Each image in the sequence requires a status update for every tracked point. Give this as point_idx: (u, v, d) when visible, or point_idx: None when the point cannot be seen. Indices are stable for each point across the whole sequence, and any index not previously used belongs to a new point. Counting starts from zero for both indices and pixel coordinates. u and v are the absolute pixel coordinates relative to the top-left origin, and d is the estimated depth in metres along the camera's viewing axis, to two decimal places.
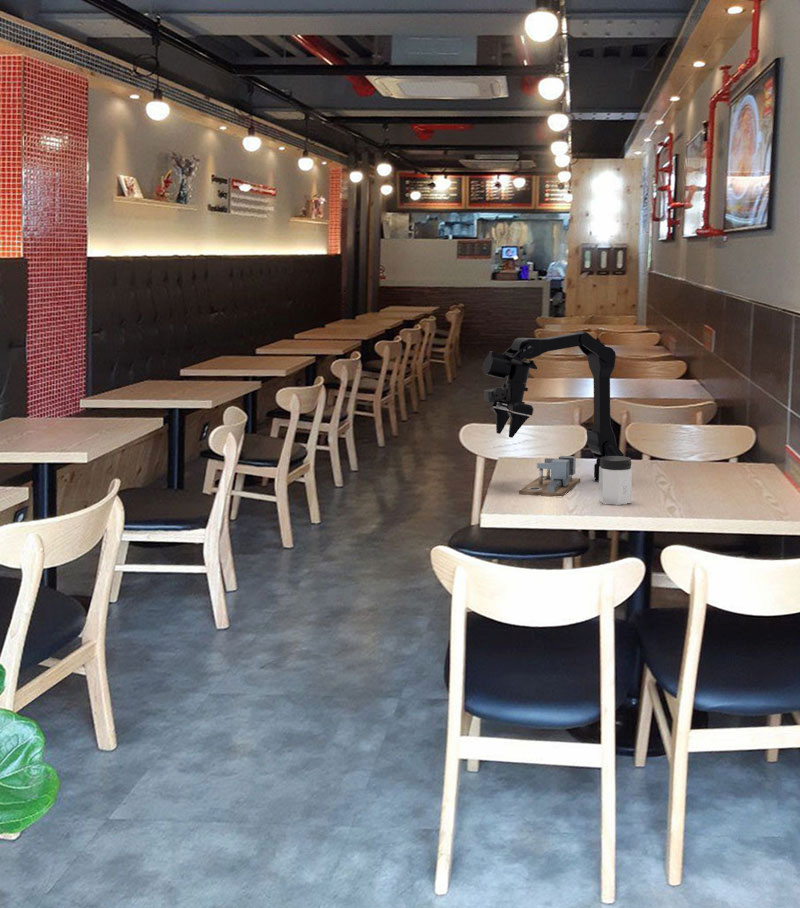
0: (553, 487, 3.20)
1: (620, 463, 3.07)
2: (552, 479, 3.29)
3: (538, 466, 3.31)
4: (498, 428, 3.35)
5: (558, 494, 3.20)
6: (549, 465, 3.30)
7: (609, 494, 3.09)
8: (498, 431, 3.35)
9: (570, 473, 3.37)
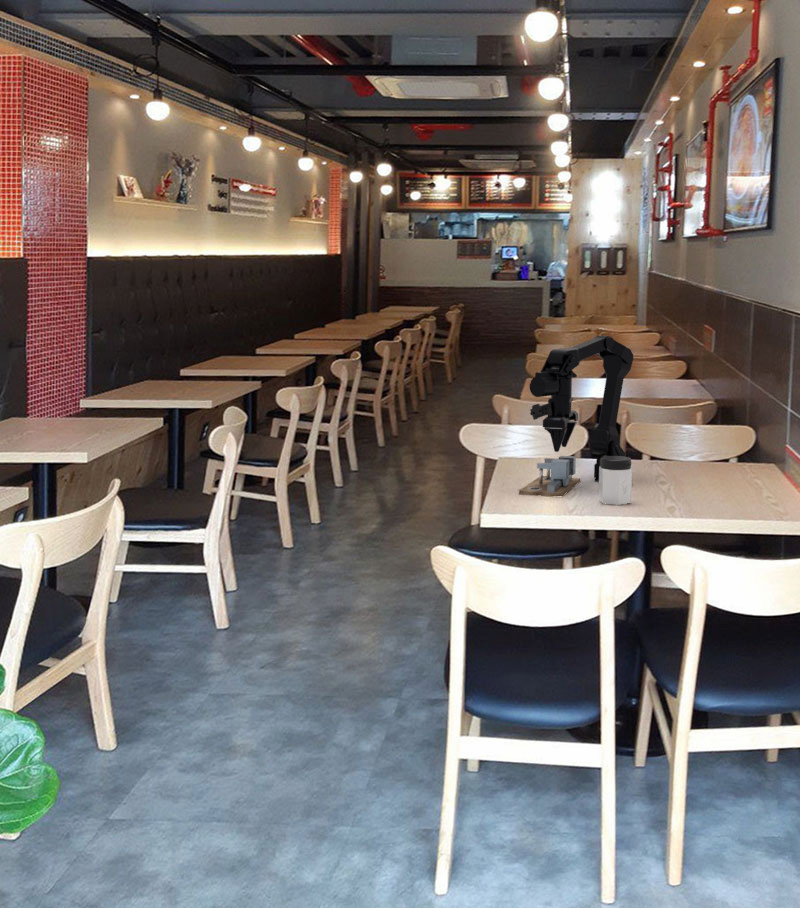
0: (553, 487, 3.20)
1: (620, 463, 3.07)
2: (552, 479, 3.29)
3: (538, 466, 3.31)
4: (562, 441, 3.33)
5: (558, 494, 3.20)
6: (549, 465, 3.30)
7: (609, 494, 3.09)
8: (563, 444, 3.33)
9: (570, 473, 3.37)
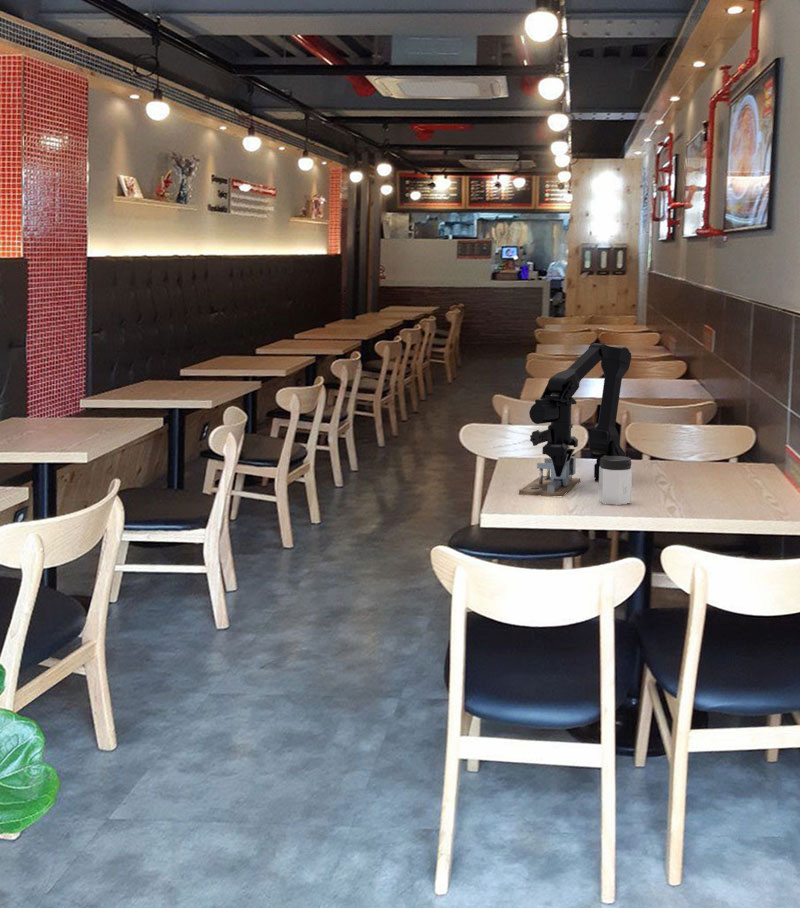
0: (553, 487, 3.20)
1: (620, 463, 3.07)
2: (552, 479, 3.29)
3: (538, 466, 3.31)
4: None
5: (558, 494, 3.20)
6: (549, 465, 3.30)
7: (609, 494, 3.09)
8: None
9: (570, 473, 3.37)
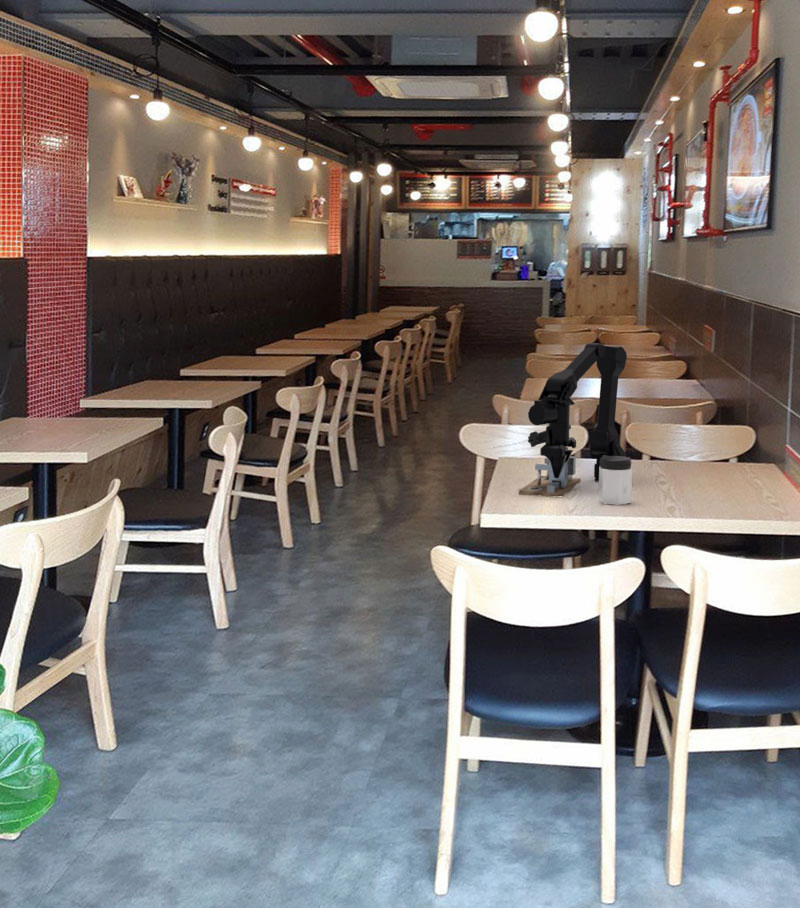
0: (553, 487, 3.20)
1: (620, 463, 3.07)
2: (550, 480, 3.27)
3: (536, 467, 3.29)
4: None
5: (558, 494, 3.20)
6: (547, 466, 3.28)
7: (609, 494, 3.09)
8: None
9: (570, 473, 3.37)
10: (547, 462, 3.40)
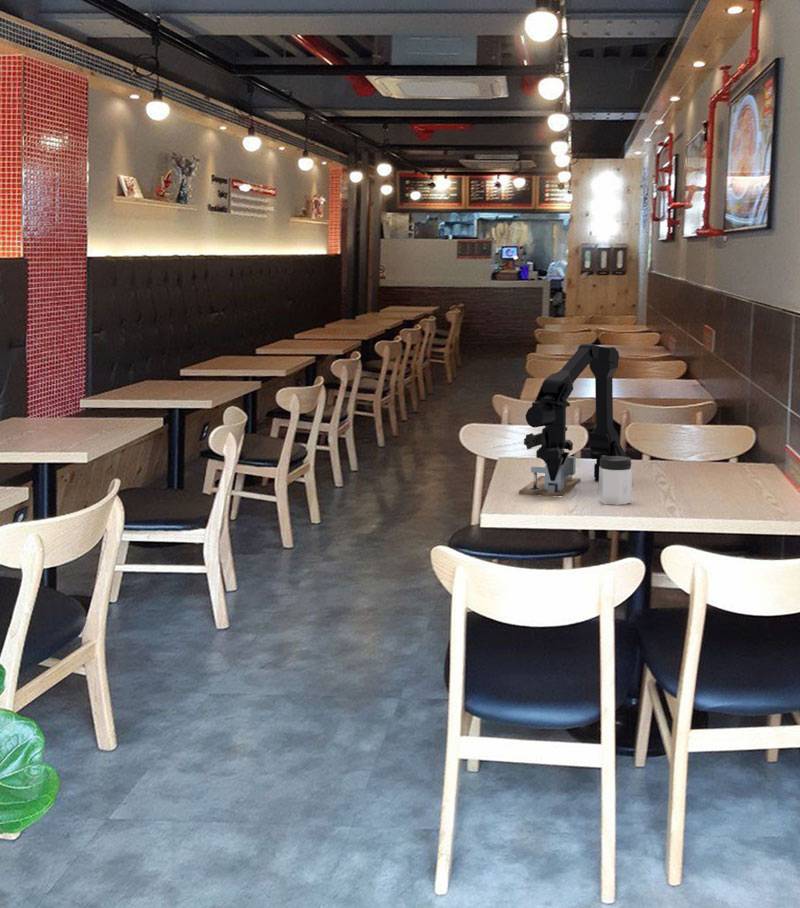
0: (553, 487, 3.20)
1: (620, 463, 3.07)
2: (546, 483, 3.23)
3: (532, 470, 3.25)
4: None
5: (558, 494, 3.20)
6: (543, 469, 3.24)
7: (609, 494, 3.09)
8: None
9: (570, 473, 3.37)
10: None
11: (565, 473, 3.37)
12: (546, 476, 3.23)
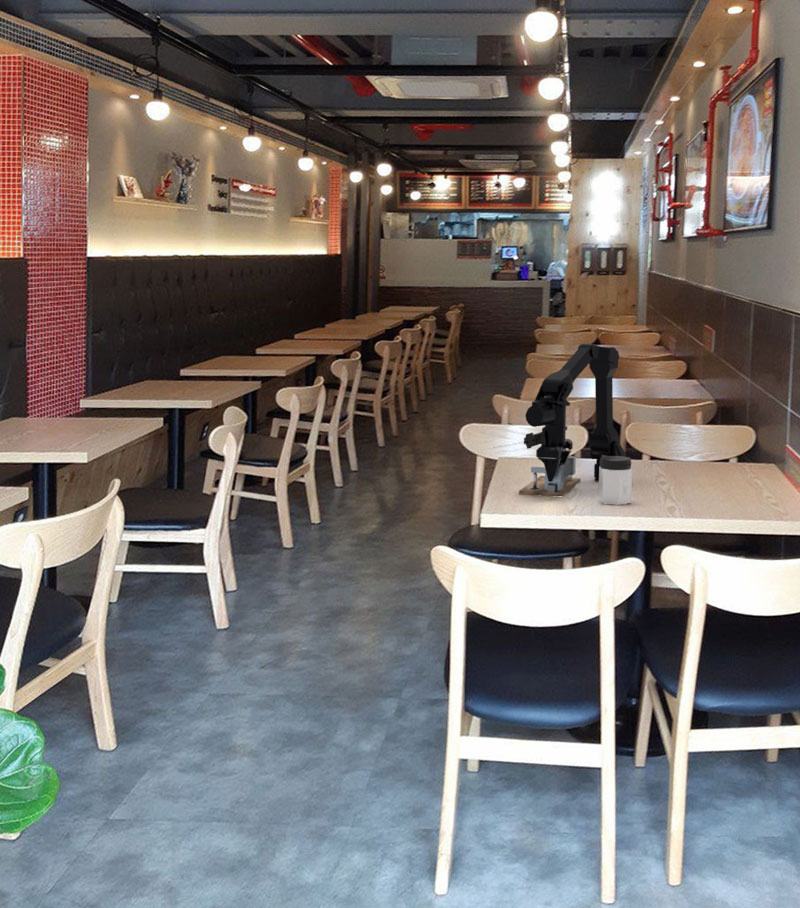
0: (553, 487, 3.20)
1: (620, 463, 3.07)
2: (546, 483, 3.23)
3: (532, 470, 3.25)
4: None
5: (558, 494, 3.20)
6: (543, 469, 3.24)
7: (609, 494, 3.09)
8: None
9: (570, 473, 3.37)
10: None
11: (565, 473, 3.37)
12: (546, 476, 3.23)
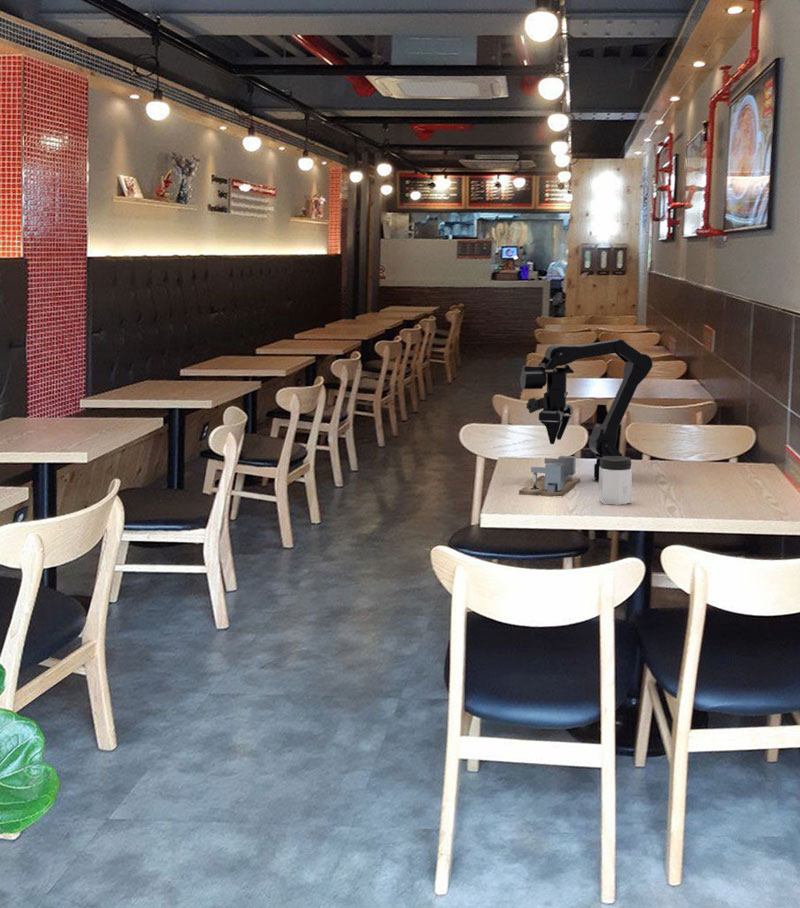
0: (553, 487, 3.20)
1: (620, 463, 3.07)
2: (546, 483, 3.23)
3: (532, 470, 3.25)
4: (557, 434, 3.44)
5: (558, 494, 3.20)
6: (543, 469, 3.24)
7: (609, 494, 3.09)
8: (558, 437, 3.45)
9: (570, 473, 3.37)
10: (547, 462, 3.40)
11: (565, 473, 3.37)
12: (546, 476, 3.23)
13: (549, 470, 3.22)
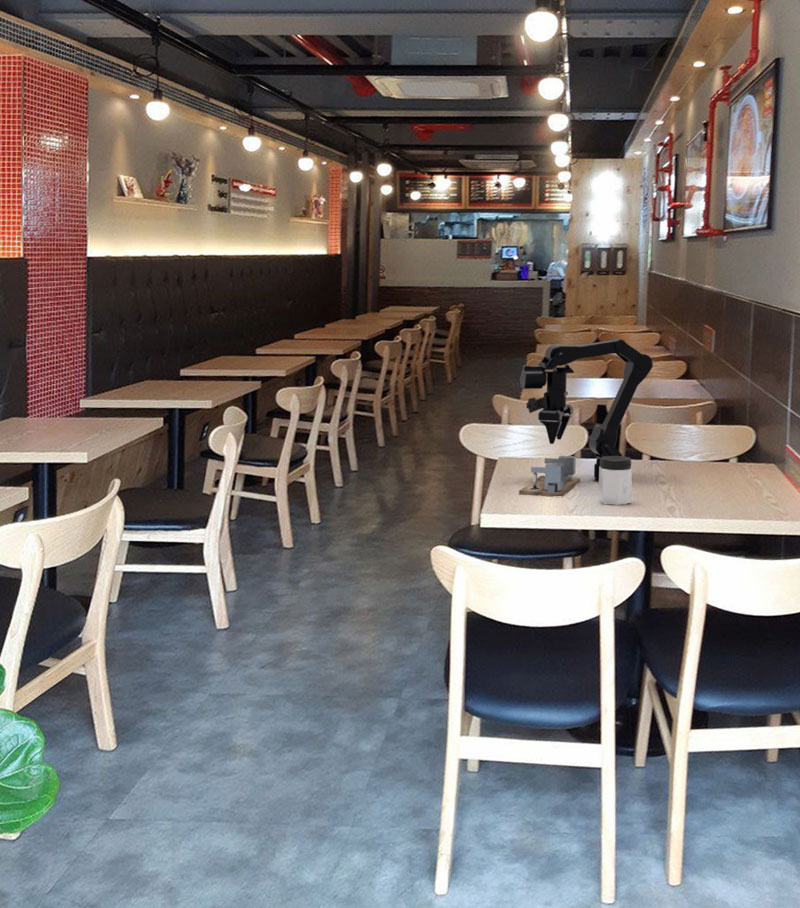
0: (553, 487, 3.20)
1: (620, 463, 3.07)
2: (546, 483, 3.23)
3: (532, 470, 3.25)
4: (557, 434, 3.45)
5: (558, 494, 3.20)
6: (543, 469, 3.24)
7: (609, 494, 3.09)
8: (558, 437, 3.45)
9: (570, 473, 3.37)
10: (547, 462, 3.40)
11: (565, 473, 3.37)
12: (546, 476, 3.23)
13: (549, 470, 3.22)
